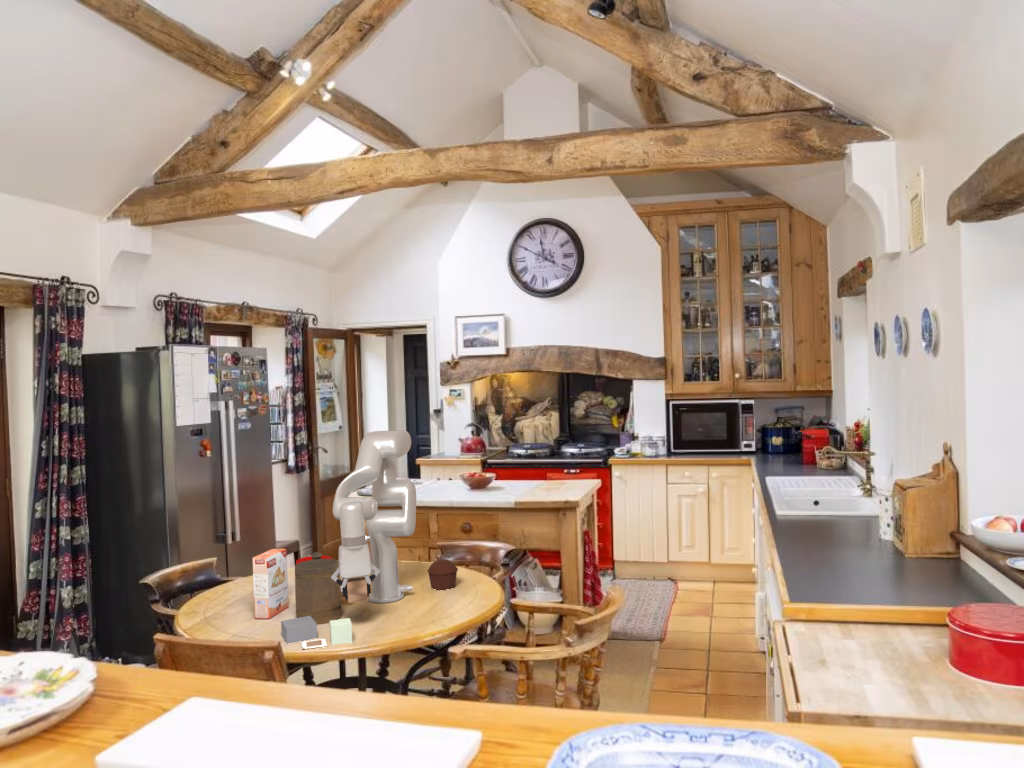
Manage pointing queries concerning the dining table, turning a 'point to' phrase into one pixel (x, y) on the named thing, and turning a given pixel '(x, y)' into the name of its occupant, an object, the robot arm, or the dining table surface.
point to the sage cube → (341, 631)
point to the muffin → (442, 574)
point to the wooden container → (317, 589)
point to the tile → (314, 643)
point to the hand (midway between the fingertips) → (356, 596)
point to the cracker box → (270, 583)
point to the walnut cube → (357, 589)
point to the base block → (299, 629)
